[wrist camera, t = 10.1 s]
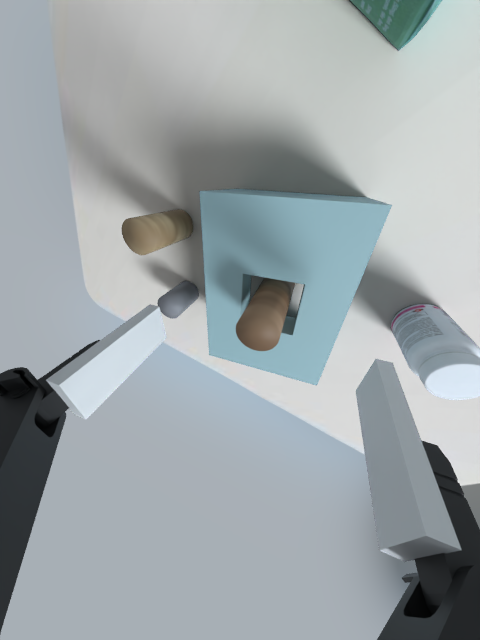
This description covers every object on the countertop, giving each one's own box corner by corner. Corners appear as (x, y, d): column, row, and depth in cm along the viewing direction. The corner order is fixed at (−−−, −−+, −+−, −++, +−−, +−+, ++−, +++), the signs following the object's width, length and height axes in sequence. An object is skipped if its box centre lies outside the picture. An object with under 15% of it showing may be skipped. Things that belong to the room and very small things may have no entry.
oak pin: (167, 208, 24) (117, 216, 18) (191, 210, 23) (147, 220, 17) (171, 236, 26) (127, 252, 20) (194, 239, 25) (154, 257, 19)
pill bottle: (385, 337, 24) (409, 397, 17) (396, 301, 21) (429, 355, 15) (436, 341, 22) (484, 409, 16) (455, 303, 20) (522, 364, 13)
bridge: (237, 188, 20) (199, 191, 14) (366, 197, 18) (391, 205, 11) (233, 318, 30) (209, 354, 23) (317, 338, 27) (316, 385, 20)
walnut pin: (271, 258, 23) (236, 309, 14) (300, 262, 22) (283, 320, 13) (268, 284, 25) (235, 345, 16) (294, 288, 24) (276, 355, 15)
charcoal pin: (178, 279, 29) (155, 294, 25) (197, 282, 28) (177, 299, 24) (180, 298, 31) (160, 315, 27) (199, 302, 30) (181, 320, 26)
